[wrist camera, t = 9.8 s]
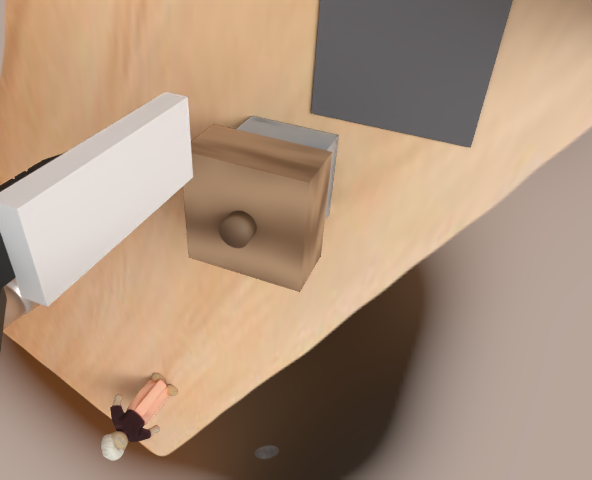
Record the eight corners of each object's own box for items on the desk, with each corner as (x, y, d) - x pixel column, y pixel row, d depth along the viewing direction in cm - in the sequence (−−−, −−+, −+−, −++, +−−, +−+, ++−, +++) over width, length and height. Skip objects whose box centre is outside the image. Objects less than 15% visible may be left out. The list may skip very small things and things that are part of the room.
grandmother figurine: (187, 392, 75) (134, 469, 66) (178, 402, 78) (125, 478, 68) (143, 360, 75) (83, 433, 65) (136, 371, 77) (77, 443, 68)
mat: (326, -68, 36) (325, -68, 36) (524, -44, 33) (524, -43, 33) (311, 112, 44) (311, 113, 44) (470, 146, 41) (470, 147, 40)
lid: (213, 124, 42) (168, 159, 37) (332, 151, 40) (301, 193, 35) (217, 226, 48) (179, 267, 43) (320, 256, 46) (292, 304, 41)
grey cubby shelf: (251, 115, 46) (224, 138, 42) (338, 135, 44) (318, 161, 40) (251, 193, 51) (226, 220, 47) (329, 214, 49) (310, 243, 45)
